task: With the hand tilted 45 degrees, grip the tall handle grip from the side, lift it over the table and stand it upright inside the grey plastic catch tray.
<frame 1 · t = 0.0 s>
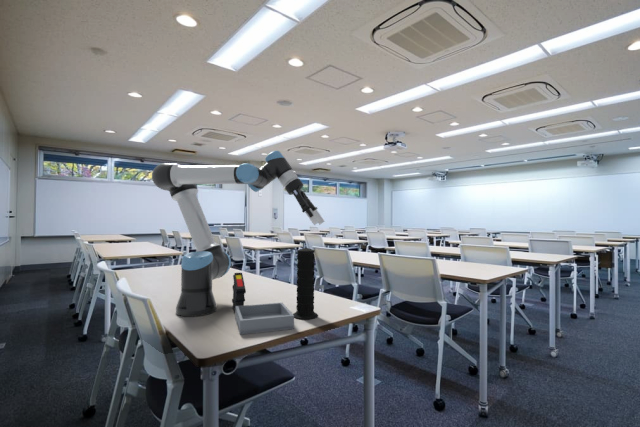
hand: (319, 223, 135), 36 cm above the table, tool tilted 35°, fingers open, 13 cm apart
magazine: (238, 311, 129), on the table
catch tray: (263, 323, 114), on the table
handle grip: (305, 316, 124), on the table
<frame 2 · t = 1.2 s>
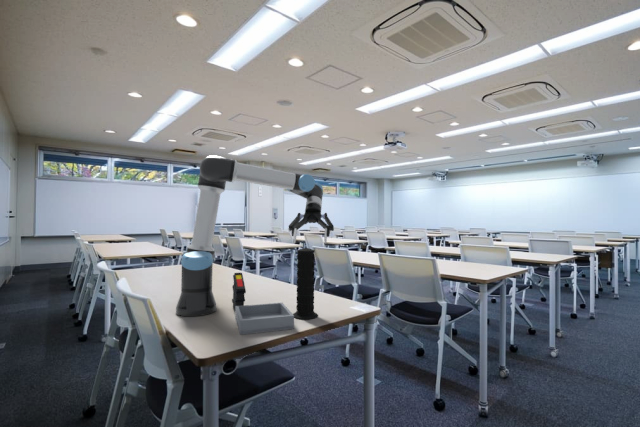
hand: (309, 241, 137), 28 cm above the table, tool tilted 45°, fingers open, 13 cm apart
nothing on the table moved.
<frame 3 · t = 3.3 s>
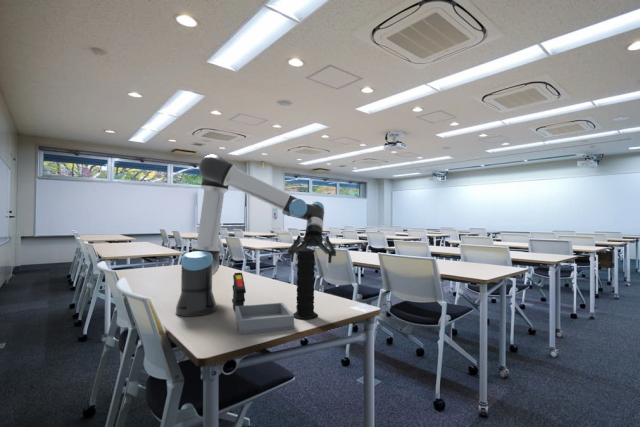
hand: (310, 268, 128), 18 cm above the table, tool tilted 45°, fingers open, 13 cm apart
nothing on the table moved.
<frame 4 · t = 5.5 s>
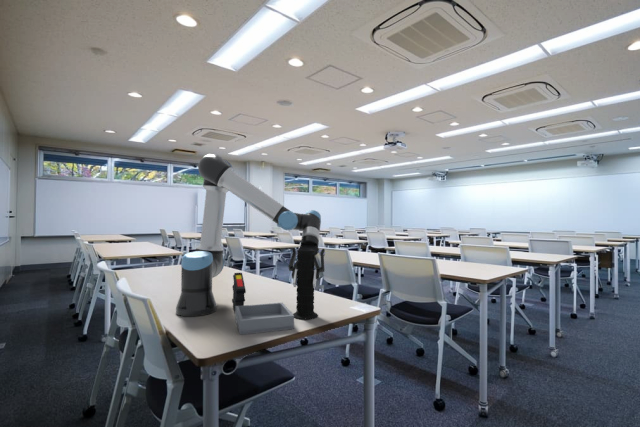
hand: (304, 285, 121), 12 cm above the table, tool tilted 45°, fingers closed on handle grip, 7 cm apart
handle grip: (305, 316, 124), on the table, touching gripper
everything else where it was.
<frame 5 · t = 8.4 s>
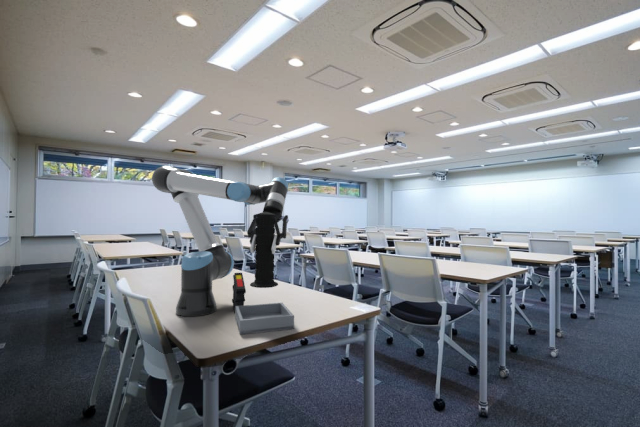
hand: (262, 251, 112), 26 cm above the table, tool tilted 45°, fingers closed on handle grip, 7 cm apart
handle grip: (264, 285, 115), point 14 cm above the table, touching gripper
everything else where it was.
when the fingers open (15 cm above the table, at t = 11.5 s): handle grip drops 1 cm, resting on catch tray.
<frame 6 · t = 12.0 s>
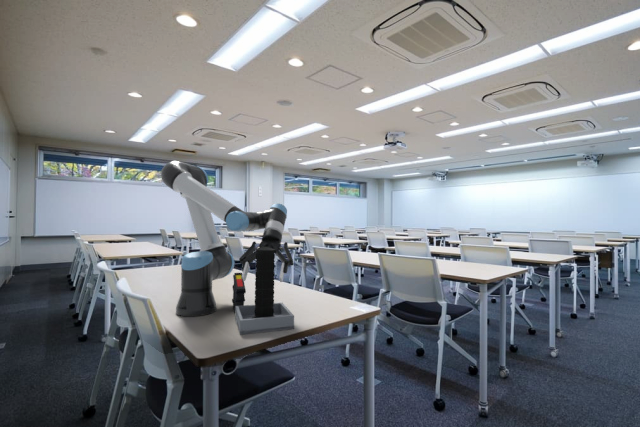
hand: (262, 279, 112), 16 cm above the table, tool tilted 45°, fingers open, 13 cm apart
handle grip: (264, 320, 114), point 1 cm above the table, touching catch tray
everything else where it was.
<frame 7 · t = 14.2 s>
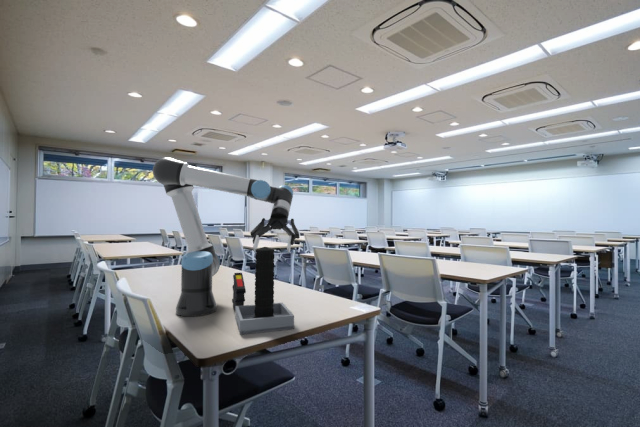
hand: (271, 250, 125), 25 cm above the table, tool tilted 45°, fingers open, 13 cm apart
nothing on the table moved.
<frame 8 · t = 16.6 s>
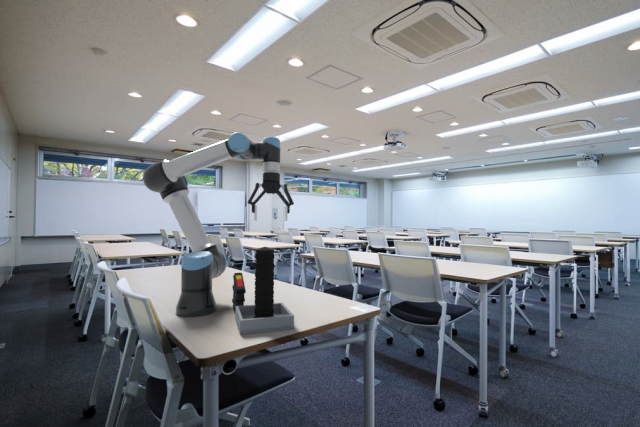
hand: (270, 220, 141), 37 cm above the table, tool pointing down, fingers open, 13 cm apart
nothing on the table moved.
at the end: handle grip inside the target area on the catch tray (0.3 cm from its centre), point 0.8 cm above the catch tray's base; handle grip tilted 0°; the gripper is holding nothing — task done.
